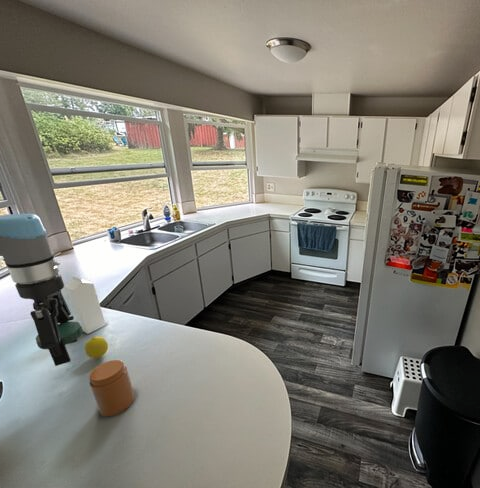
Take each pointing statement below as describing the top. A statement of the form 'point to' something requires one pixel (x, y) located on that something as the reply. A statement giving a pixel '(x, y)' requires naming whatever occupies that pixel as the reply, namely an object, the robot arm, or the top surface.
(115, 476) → the top surface
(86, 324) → the milk
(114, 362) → the jam jar
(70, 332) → the jar lid
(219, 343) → the top surface
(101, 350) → the lemon
